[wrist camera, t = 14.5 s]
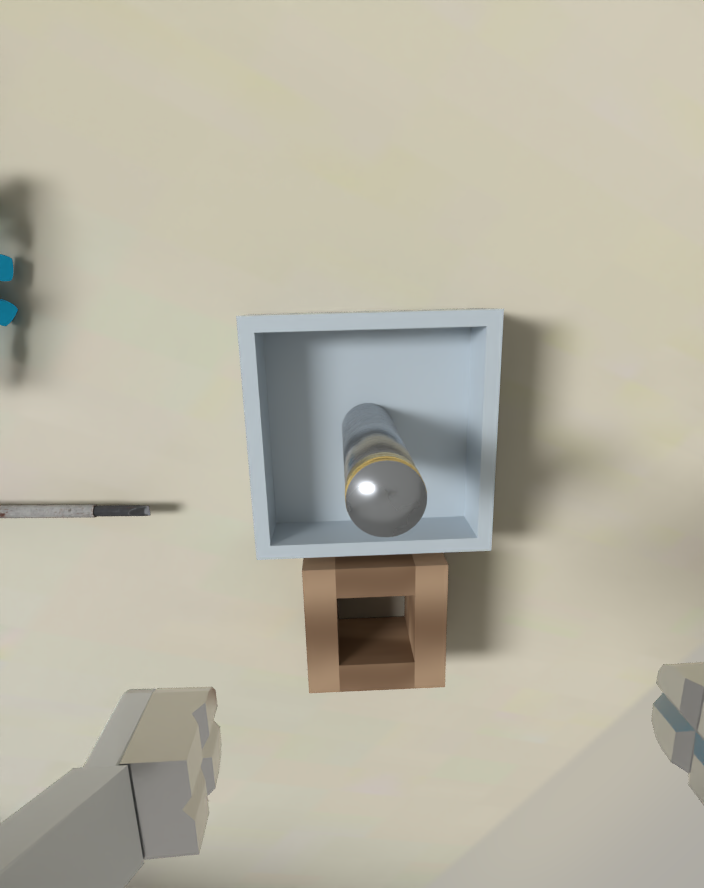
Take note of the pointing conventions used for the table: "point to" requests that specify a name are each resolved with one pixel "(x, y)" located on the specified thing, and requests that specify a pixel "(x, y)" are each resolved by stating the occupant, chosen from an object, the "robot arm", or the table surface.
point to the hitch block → (376, 623)
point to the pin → (379, 474)
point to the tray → (388, 385)
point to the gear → (3, 310)
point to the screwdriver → (70, 511)
